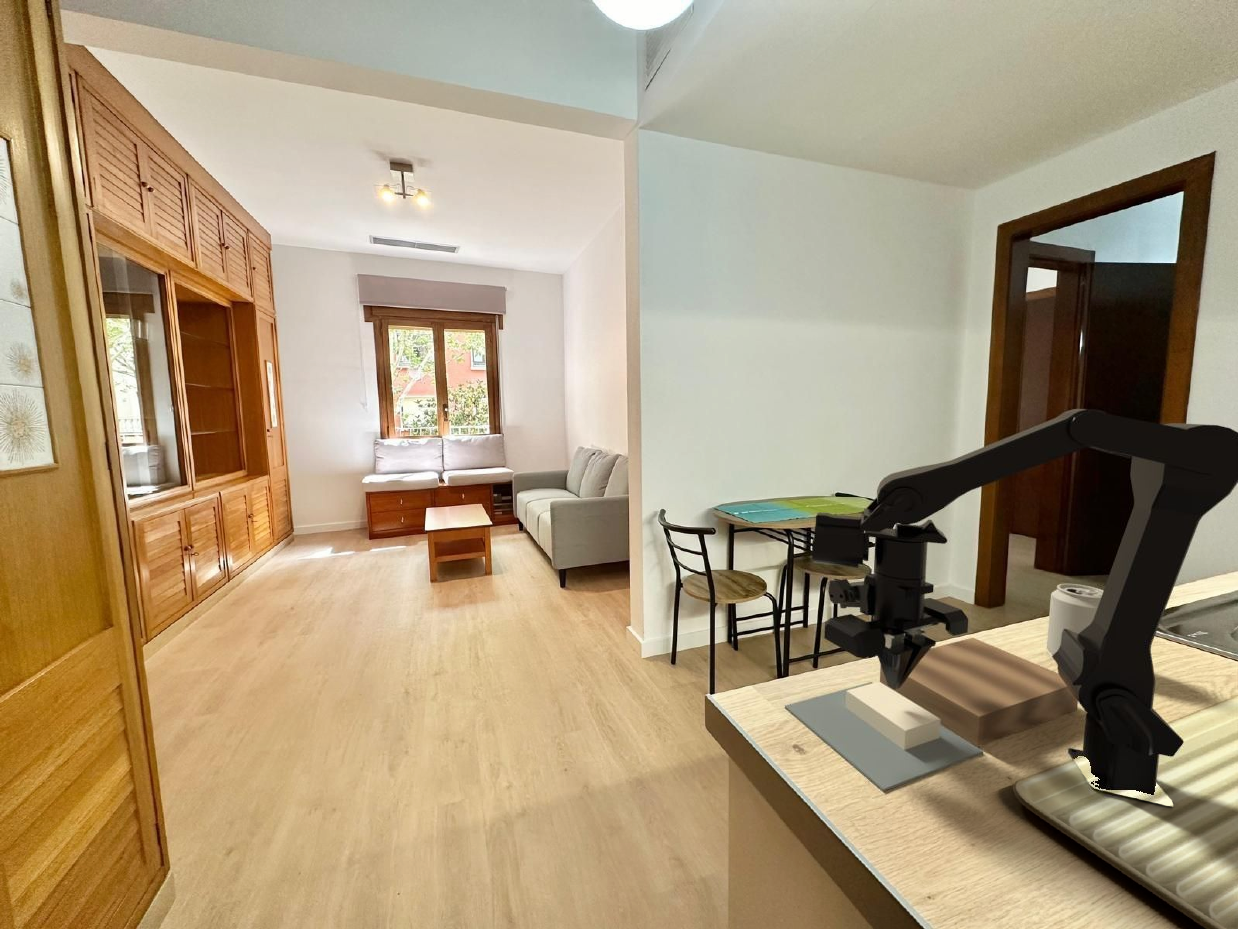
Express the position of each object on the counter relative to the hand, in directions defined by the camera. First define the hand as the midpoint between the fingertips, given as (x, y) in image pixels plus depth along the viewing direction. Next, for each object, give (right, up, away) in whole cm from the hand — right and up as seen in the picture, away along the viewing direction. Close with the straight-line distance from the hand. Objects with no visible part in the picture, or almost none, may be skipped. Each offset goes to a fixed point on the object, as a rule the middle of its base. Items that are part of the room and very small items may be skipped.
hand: (893, 687), depth 63 cm
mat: (-3, -5, 0) cm, 6 cm away
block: (+15, -4, +6) cm, 16 cm away
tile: (0, -4, 0) cm, 4 cm away
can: (+39, -3, +16) cm, 42 cm away
